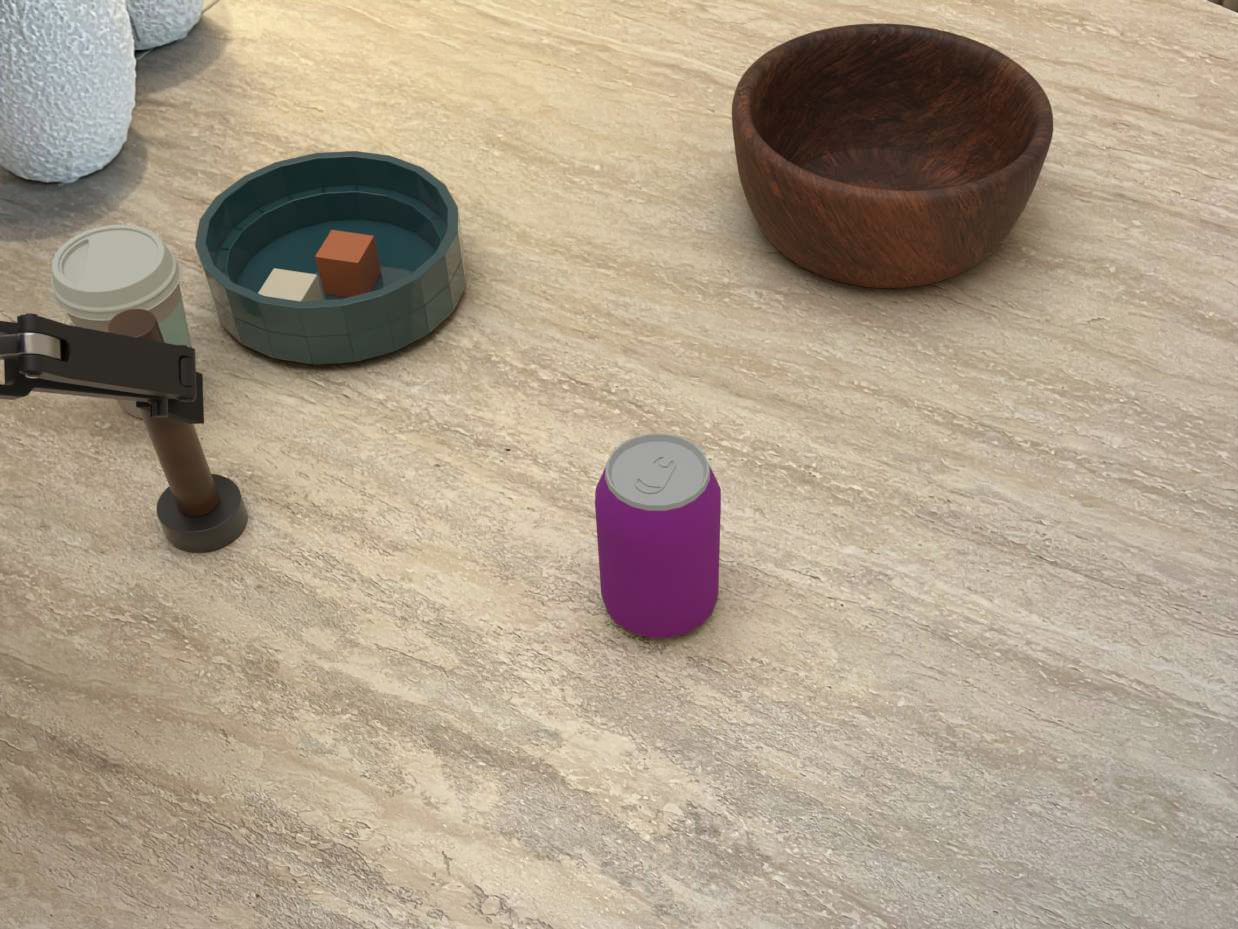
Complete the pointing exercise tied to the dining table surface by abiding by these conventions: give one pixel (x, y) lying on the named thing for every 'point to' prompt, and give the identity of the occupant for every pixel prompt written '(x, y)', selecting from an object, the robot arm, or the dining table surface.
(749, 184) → the wooden bowl
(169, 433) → the muddler
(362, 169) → the stir bowl
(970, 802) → the dining table surface
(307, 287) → the cream block
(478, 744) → the dining table surface
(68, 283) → the coffee cup
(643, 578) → the beverage can
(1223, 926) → the dining table surface
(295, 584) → the dining table surface
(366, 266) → the terracotta block
